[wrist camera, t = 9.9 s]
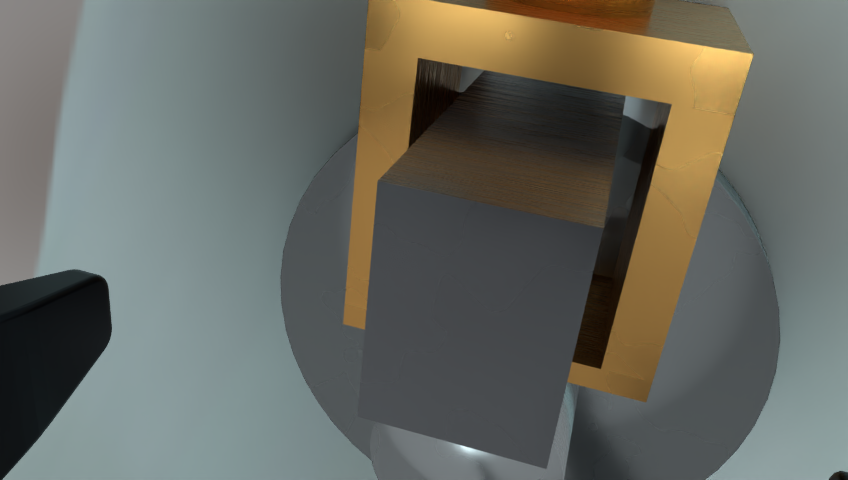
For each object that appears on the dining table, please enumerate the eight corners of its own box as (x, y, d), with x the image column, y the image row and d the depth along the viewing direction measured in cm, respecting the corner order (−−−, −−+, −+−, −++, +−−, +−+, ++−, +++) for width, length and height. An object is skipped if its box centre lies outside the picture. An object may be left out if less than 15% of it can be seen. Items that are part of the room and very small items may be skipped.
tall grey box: (590, 247, 18) (547, 469, 11) (469, 220, 19) (356, 416, 12) (627, 83, 17) (603, 228, 10) (493, 60, 17) (377, 181, 10)
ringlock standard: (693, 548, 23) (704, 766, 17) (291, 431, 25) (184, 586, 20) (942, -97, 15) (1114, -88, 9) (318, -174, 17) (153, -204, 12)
